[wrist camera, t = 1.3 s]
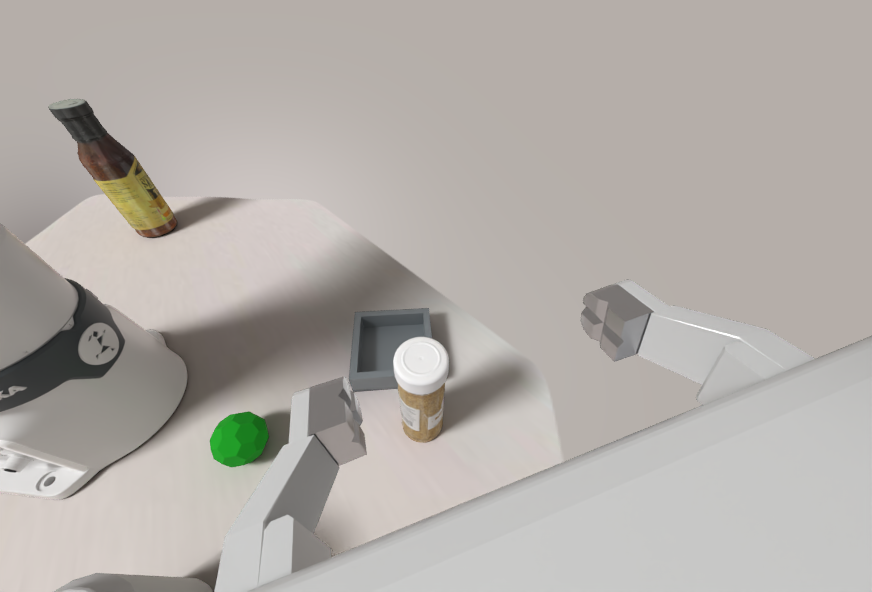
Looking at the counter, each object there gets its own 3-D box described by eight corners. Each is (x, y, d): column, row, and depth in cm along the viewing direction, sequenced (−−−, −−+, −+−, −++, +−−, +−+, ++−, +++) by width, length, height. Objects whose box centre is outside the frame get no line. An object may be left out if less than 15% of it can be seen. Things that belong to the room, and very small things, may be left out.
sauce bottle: (184, 229, 58) (102, 105, 43) (144, 244, 55) (40, 116, 40) (172, 213, 61) (91, 92, 46) (133, 227, 58) (33, 102, 43)
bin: (353, 391, 38) (348, 379, 36) (358, 325, 45) (355, 312, 43) (434, 385, 39) (435, 373, 37) (428, 321, 46) (428, 308, 43)
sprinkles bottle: (448, 436, 35) (457, 375, 25) (406, 449, 34) (399, 390, 24) (435, 397, 38) (439, 329, 28) (397, 408, 37) (387, 341, 27)
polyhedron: (278, 418, 36) (262, 400, 33) (272, 466, 33) (254, 451, 29) (229, 427, 35) (207, 409, 32) (218, 477, 32) (193, 463, 29)
